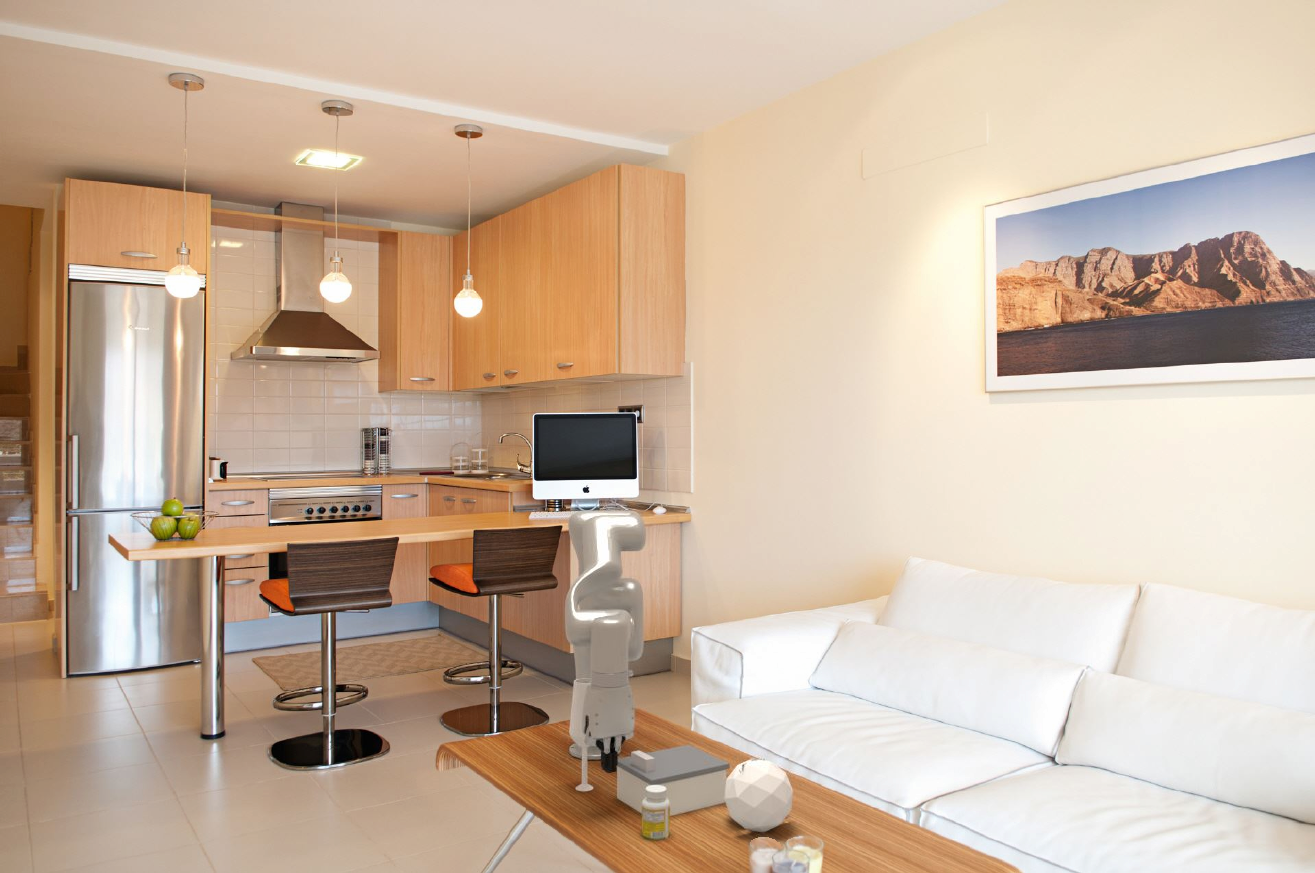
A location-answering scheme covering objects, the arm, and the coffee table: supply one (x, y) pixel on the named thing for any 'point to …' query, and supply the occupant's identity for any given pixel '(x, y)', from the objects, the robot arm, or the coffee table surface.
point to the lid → (671, 764)
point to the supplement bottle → (655, 813)
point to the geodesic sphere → (758, 795)
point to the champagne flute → (579, 726)
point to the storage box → (675, 791)
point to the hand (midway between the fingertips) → (609, 770)
